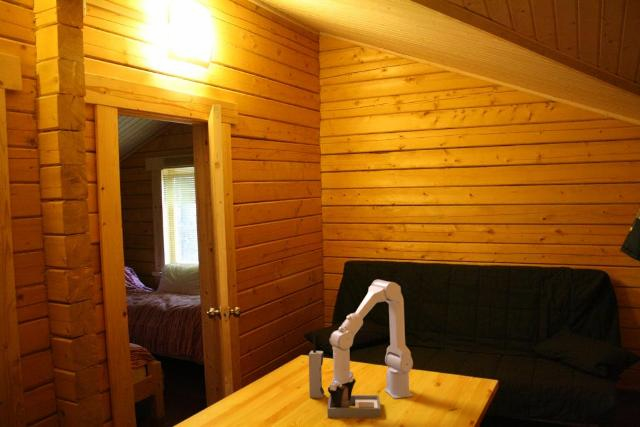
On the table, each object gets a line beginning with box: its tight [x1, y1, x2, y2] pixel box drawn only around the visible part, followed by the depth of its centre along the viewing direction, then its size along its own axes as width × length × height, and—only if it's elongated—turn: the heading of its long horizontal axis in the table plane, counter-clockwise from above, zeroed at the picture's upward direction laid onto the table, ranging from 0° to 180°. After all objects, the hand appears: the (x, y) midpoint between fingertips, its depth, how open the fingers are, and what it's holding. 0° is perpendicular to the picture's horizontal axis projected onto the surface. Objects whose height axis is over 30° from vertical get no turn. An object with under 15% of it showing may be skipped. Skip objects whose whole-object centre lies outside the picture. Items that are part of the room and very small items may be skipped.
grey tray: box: [326, 394, 382, 419], centre depth 182 cm, size 18×12×3 cm, turn 86°
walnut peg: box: [339, 385, 349, 408], centre depth 182 cm, size 4×4×8 cm
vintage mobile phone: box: [308, 330, 325, 399], centre depth 195 cm, size 4×5×25 cm
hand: (342, 403), depth 182 cm, fingers open, 7 cm apart
